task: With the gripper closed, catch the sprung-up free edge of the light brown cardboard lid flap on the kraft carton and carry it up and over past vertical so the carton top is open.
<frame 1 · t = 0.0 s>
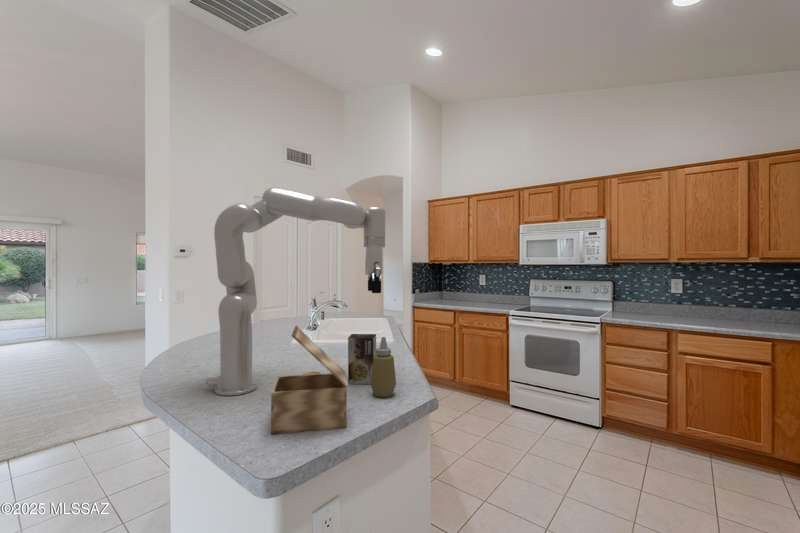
hand: (374, 291, 129), 31 cm above the counter, tool pointing down, fingers open, 9 cm apart
carton: (310, 419, 97), on the counter
grey upright box: (362, 382, 128), on the counter
squeeze bottle: (383, 395, 115), on the counter
carton flap: (320, 354, 97), point 17 cm above the counter, hinge at 45.0°
croissant: (308, 394, 116), on the counter
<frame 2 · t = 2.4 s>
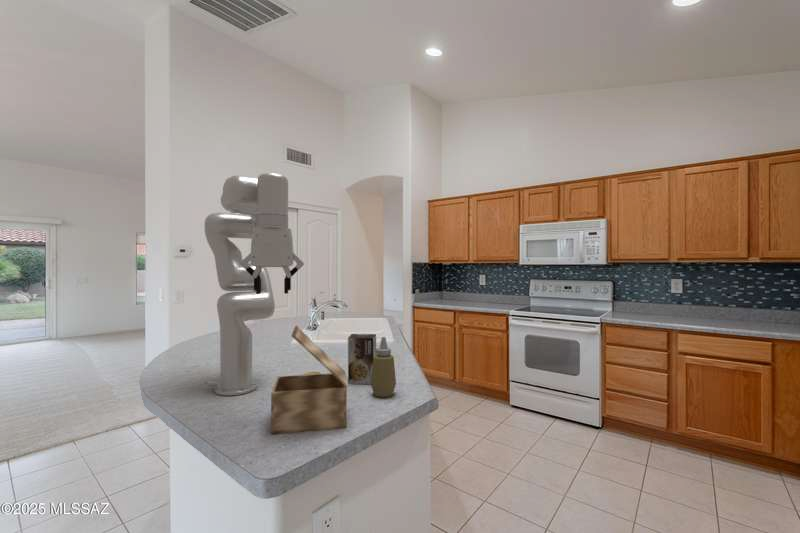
hand: (272, 292, 94), 34 cm above the counter, tool pointing down, fingers open, 6 cm apart
nothing on the counter moved.
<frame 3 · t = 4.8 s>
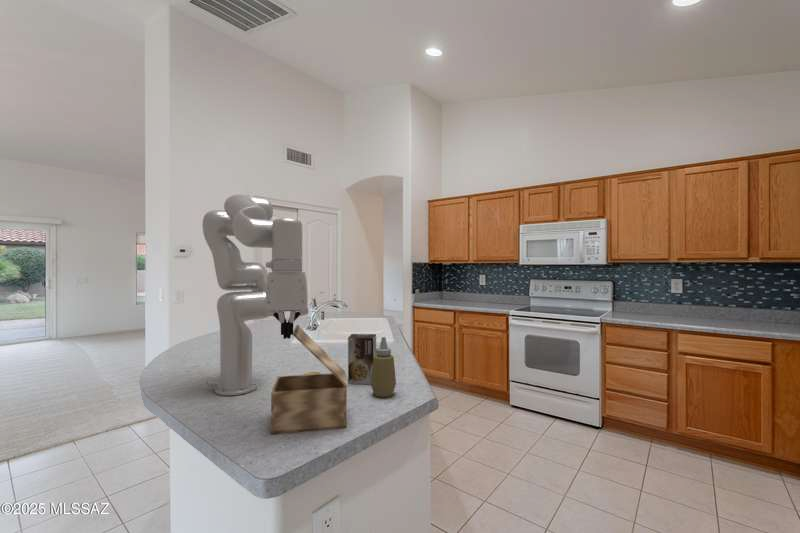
hand: (287, 337, 95), 22 cm above the counter, tool pointing down, fingers closed
carton flap: (321, 354, 97), point 17 cm above the counter, hinge at 46.2°, touching gripper
everything else where it was.
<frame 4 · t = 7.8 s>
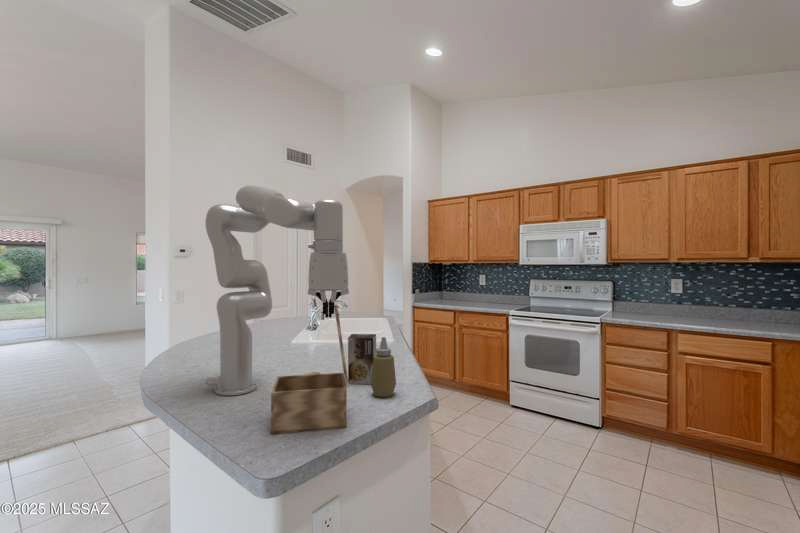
hand: (328, 316, 97), 27 cm above the counter, tool pointing down, fingers closed
carton flap: (341, 344, 98), point 19 cm above the counter, hinge at 81.9°, touching gripper
everything else where it was.
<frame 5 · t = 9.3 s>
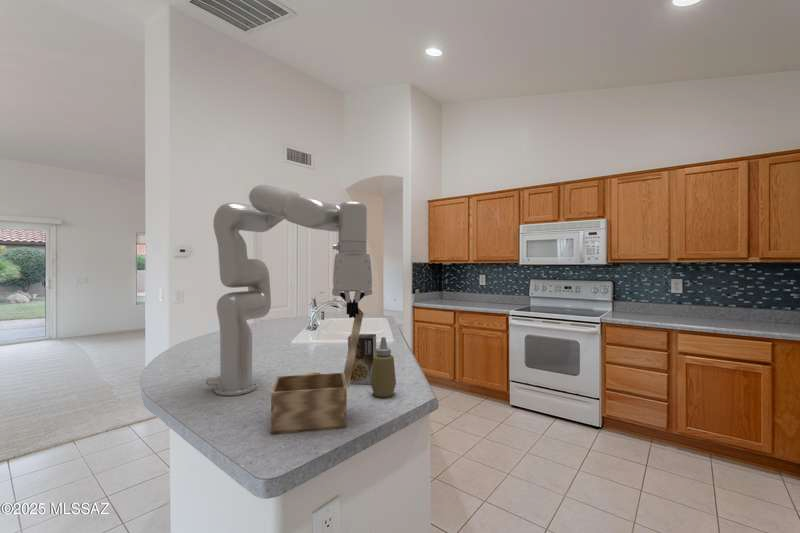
hand: (352, 316, 99), 27 cm above the counter, tool pointing down, fingers closed
carton flap: (353, 344, 99), point 19 cm above the counter, hinge at 100.7°, touching gripper
everything else where it was.
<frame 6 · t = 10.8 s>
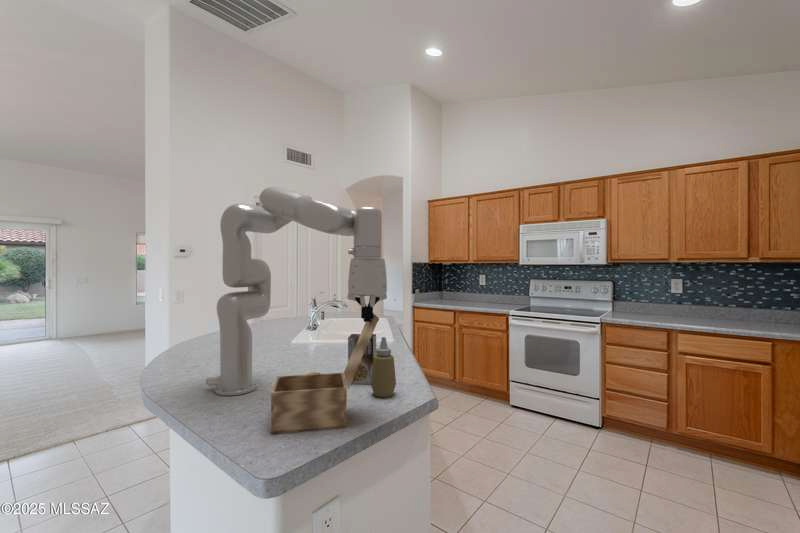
hand: (367, 321, 99), 26 cm above the counter, tool pointing down, fingers closed
carton flap: (360, 347, 99), point 19 cm above the counter, hinge at 113.5°, touching gripper
everything else where it was.
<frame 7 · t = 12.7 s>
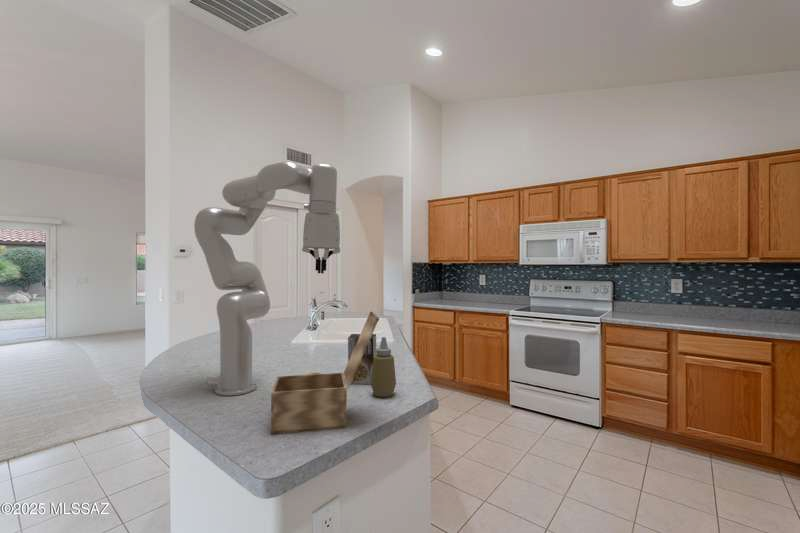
hand: (320, 273, 105), 38 cm above the counter, tool pointing down, fingers closed
carton flap: (360, 347, 99), point 19 cm above the counter, hinge at 113.5°
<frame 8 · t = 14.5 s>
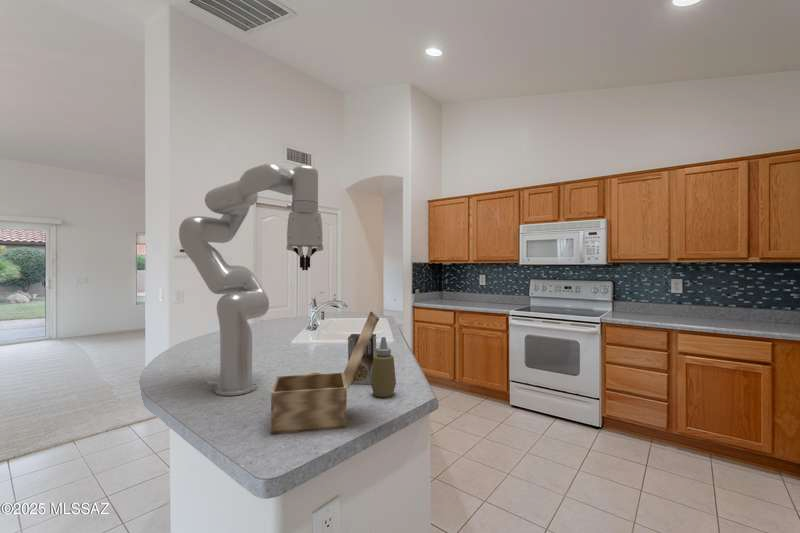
hand: (305, 270, 110), 39 cm above the counter, tool pointing down, fingers closed
at the end: carton flap at +114° (first picture: +45°); squeeze bottle moved 0.2 cm from its start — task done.
